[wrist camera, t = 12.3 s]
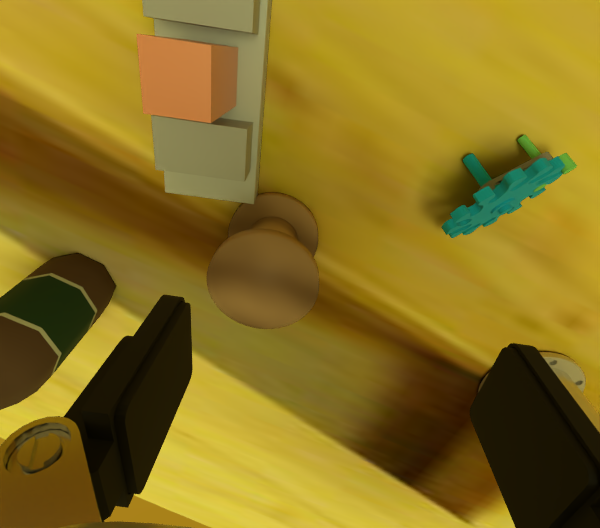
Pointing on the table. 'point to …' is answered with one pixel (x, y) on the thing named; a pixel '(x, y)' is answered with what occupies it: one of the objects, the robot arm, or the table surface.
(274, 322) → the bobbin
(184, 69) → the orange rectangular block
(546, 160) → the teal lobed piece
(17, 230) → the table surface
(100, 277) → the beer bottle
